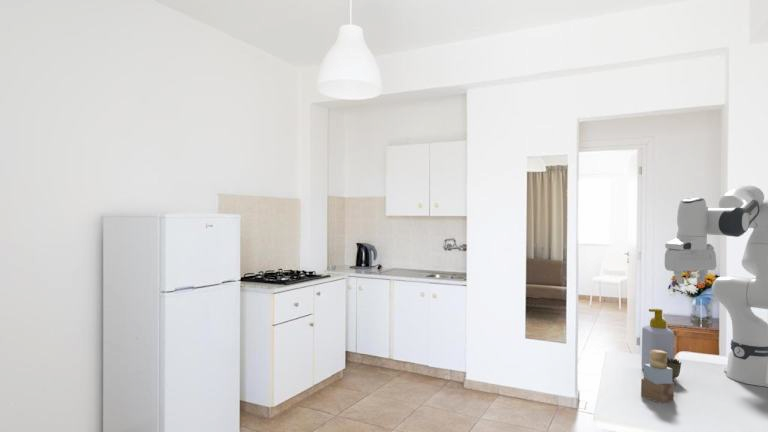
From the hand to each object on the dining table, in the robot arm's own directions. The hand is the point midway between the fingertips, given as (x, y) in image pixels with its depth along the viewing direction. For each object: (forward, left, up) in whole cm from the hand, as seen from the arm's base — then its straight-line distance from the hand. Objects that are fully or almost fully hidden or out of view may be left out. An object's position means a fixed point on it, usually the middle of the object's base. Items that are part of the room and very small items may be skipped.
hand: (690, 283), depth 163 cm
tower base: (+14, 0, -39) cm, 42 cm away
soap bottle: (-8, -20, -39) cm, 45 cm away
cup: (-4, -11, -39) cm, 41 cm away
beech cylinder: (+14, 0, -28) cm, 31 cm away
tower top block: (+14, 0, -33) cm, 36 cm away
